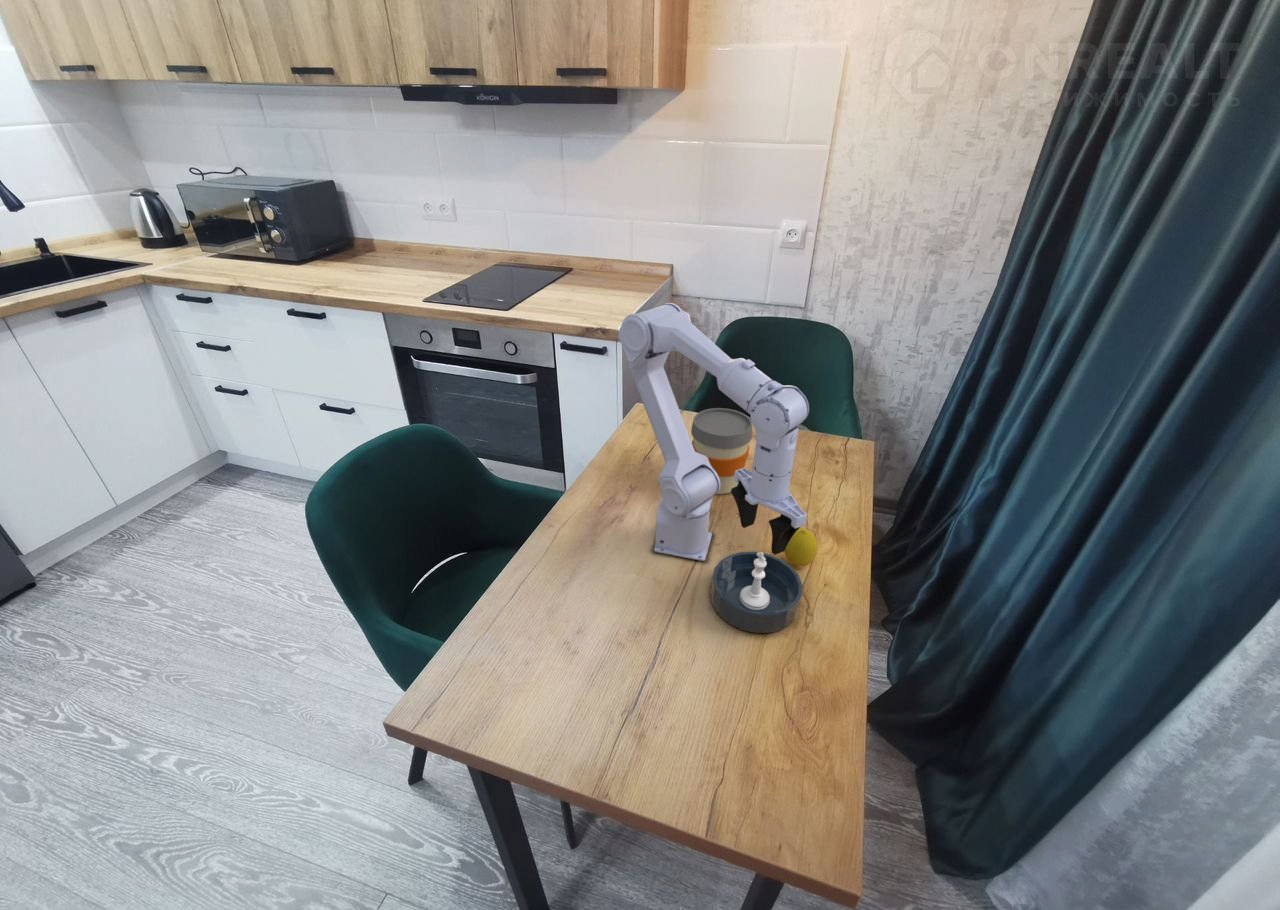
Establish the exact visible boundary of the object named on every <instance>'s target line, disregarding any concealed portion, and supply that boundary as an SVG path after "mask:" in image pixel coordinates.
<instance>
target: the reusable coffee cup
mask: <svg viewBox="0 0 1280 910" xmlns="http://www.w3.org/2000/svg"><path fill="white" fill-rule="evenodd" d="M691 424H692V425H691V430H690V432H691V436H692V440H691V443H692V445H693V448H694V451H695V452H697V453H699V454H702V455H704V456H706V457H708V460H709V463H710V465H711V466H712V468H713V469H714V470H715V471H716V473H717V474H718V476H719V479H720V483H721V487H720V490H719V492H718V493H717V494H716V495H724V494H728V493H731V489H732V488H734V487H736V486H737V485H738V484H739V483H737V482H735V481H734V475H735V471H736V470H739V469H742V468H746V462H747V459H748V456H749V452H750V442H751V441H752V439H753V424H752V421H751V417H749V416H748V415H746V414H745V413H744V412H741V411H739V410H736V409H732V408H725V407H724V408H722V407H714V408H708V409H704V410H701V411H699V412H697V413H696V414H695V415H694V417H693V419H692V423H691Z"/></svg>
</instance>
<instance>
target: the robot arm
mask: <svg viewBox="0 0 1280 910" xmlns="http://www.w3.org/2000/svg"><path fill="white" fill-rule="evenodd" d="M617 337H618V339H619V342H620V344H621V347H622V350H623V352H624V355H625V357H626V360H627V362H628V367H629V371H630V373H631V376H632V378H633V381H634V384H635V386H636V389H637V392H638V394H639V397H640V399H641V402H642V404H643V407H644V411H645V413H646V415H647V417H648V420H649V423H650V426H651V428H652V431H653V434H654V437H655V438H656V439H655V440H656V441H657V443H658V446H659V449H660V452H661V454H662V456H663V459H664V464H663V466H662V468H661V471H660V474H659V475H658V479H657V480H658V482H659V485H660V490H661V491H660V493H661V499H660V501H659V504H658V507H657V511H656V517H655V538H654V539H655V541H654V549H653V550H654V552H655V553H659V554H663V555H664V554H665V555H670V556H676V557H680V558H684V559H691V560H694V561H695V560H696V561H701V562H704V561H705V562H706V558H707V555H708V551H709V548H710V544H711V540H712V537H713V533H712V532H711V531H709V525H710V515H711V504H712V503H713V500H714V499H713V498H714V496H717V495H718V494H717V493H718V492H719V490H720V487H721V483H720V479H719V476H718V474H717V473H716V471H715V470H714V469H713V468H712V466H711V465H710V463H709V460H708V457H706V456H704V455H702V454H699V453H697V452H695V451H694V448H693V445H692V440H691V437H690V435H689V432H688V428H687V426H686V424H685V421H684V419H683V416H682V413H681V410H680V408H679V405H678V403H677V399H676V396H675V395H674V392H673V389H672V386H671V383H670V381H669V378H668V375H667V373H666V369H665V368H664V366H665V363H666V361H667V359H668V357H669V354H670V353H671V352H679V353H680V354H681V355H683V356H684V357H686V358H688V359H689V360H691V361H692V362H693V363H695V364H696V365H697V366H699V367H700V368H702V369H704V370H705V371H706V372H708V373H709V374H711V376H714V378H715V377H716V382H717V383H716V384H717V388H718V390H719V391H720V392H722V393H723V394H724V395H725V396H726V397H728V398H729V399H730V400H731V401H733V402H734V403H735V404H736V405H738V406H739V407H740V408H742V409H743V410H744V411H745V412H746V413H748V414H749V415H750V419H751V421H752V427H753V428H754V431H755V438H754V439H755V444H754V445H755V446H754V454H753V463H752V469H751V470H749V469H747V468H746V467H744V468H742V469H739V470H736V471H735V475H734V481H735V482H737V483H738V485H737V486H736V487H734V488H732V489H731V492H730V494H731V496H732V498H733V499H734V501H735V504H736V508H737V510H738V515H739V521H740V525H741V527H742V528H743V529H746V528H747V527H750V526H754V524H755V521H756V517H757V512H758V508H759V507H758V506H762V507H764V508H766V509H769V510H771V511H773V512H775V513H778V514H780V516H776V517H775V518H772V519H769V520H768V524H769V526H770V530H771V537H772V538H771V548H770V549H771V553H772V554H773V556H776V555H779V554H782V553H785V549H786V547H787V545H788V543H789V541H790V539H791V538H792V536H793V535H794V534H795V532H796V531H797V530H798V529H801V527H803V526H805V525H806V523H807V517H808V514H807V512H805V511H804V510H803V509H802V508H801V506H800V504H799V503H798V502H797V501H796V499H795V498H794V496H793V495H792V493H791V492H790V485H791V480H792V479H791V478H792V473H793V467H794V461H795V455H796V449H797V441H798V436H799V431H800V427H799V426H800V424H802V423H803V422H804V421H805V420H807V418H808V416H809V413H810V403H809V401H808V398H807V397H806V395H805V393H803V391H801V389H800V388H798V387H797V386H795V385H788V384H787V385H783V384H781V383H780V382H778V381H776V380H774V379H772V378H770V377H769V376H768V375H767V374H765V373H764V372H763V371H761V370H760V369H758V368H757V367H756V366H755V365H756V363H755V362H754V361H752V360H751V359H750V358H749V359H745V358H743V357H739V358H731V357H730V356H729V355H728V354H727V353H725V352H724V350H722V349H721V348H720V347H719V346H718V345H716V344H715V343H714V341H712V340H711V339H710V338H708V337H707V336H706V335H705V334H704V333H703V332H702V331H701V330H699V328H698V327H697V326H695V325H694V324H693V323H692V319H691V316H690V314H689V312H686V311H685V310H683V309H682V308H681V307H680V306H679V305H677V304H676V303H673V302H666V303H664V304H662V305H659V306H656V307H654V308H650V309H647V310H644V311H640V312H637V313H632V314H628V315H627V316H625V317H624V319H623V320H622V323H621V326H620V328H619V332H618V335H617Z"/></svg>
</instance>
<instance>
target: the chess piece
mask: <svg viewBox="0 0 1280 910" xmlns="http://www.w3.org/2000/svg"><path fill="white" fill-rule="evenodd" d="M757 552H758V553H757V556H758V557H759V558H757V559H755V560H754V566H755V569H754V570H753V571H752V576H753V577H755V578H754V581H753V584H752V585H750V586H746V587H744V588H743V589H742V590H741V593H740V596H739V598H740V601H741V603H742V604H743V605H744V606H746V607H747V608H750V609H753V610H761V609H764V608H766V607H767V606H768V605H769V603H770V596H769V594H768V592H767V591H766V590H765V589H763V588H762V587H761V579H762V578H764V577H765V572H764V571H763V570H764V568H765V567H766V565H767V562H766V558H765V557H764V556H763V555H764V553H765V552H764V551H760V553H759V551H757Z"/></svg>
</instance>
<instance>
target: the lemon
mask: <svg viewBox="0 0 1280 910" xmlns="http://www.w3.org/2000/svg"><path fill="white" fill-rule="evenodd" d="M817 554H818V540H817V537H816V535H815V534H814V533H813V532H812V531H810V530H809V529H807V528H799V529H798V530H797V531H796V532H795V534H794V535H793V536H792V538H791V539H790V541H789V543H788V545H787V547H786V549H785V551H784V555H785V557H786V559H787V561H788V562H789V563H790V564H792V565H793V566H796V567H800V568H801V567H806V566H809V565H810V564H812V563H813V562H814V561H815V560H816V559H815V558H816V556H817Z"/></svg>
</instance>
